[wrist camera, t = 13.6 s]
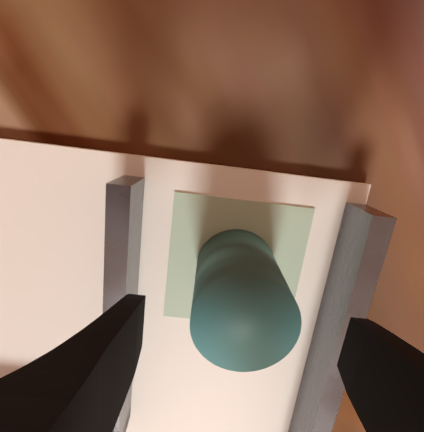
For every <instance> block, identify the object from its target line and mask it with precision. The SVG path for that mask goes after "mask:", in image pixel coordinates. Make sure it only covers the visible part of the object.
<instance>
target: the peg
mask: <svg viewBox="0 0 424 432" xmlns="http://www.w3.org/2000/svg"><path fill="white" fill-rule="evenodd" d="M301 325H302V321H301V313H300V310H299V307H298V304H297V302H296V300H295V298H294V296H293V294H292V292H291V290H290V288H289V286H288V284H287V282H286V280H285V278H284V276H283V274H282V272H281V270H280V268H279V266H278V264H277V262H276V260H275V258H274V256H273V254H272V252H271V250H270V248H269V247H268V245H267V244H266V242H265V241H264V240H263V239H262V238H260V237H259V236H258V235H256V234H254V233H252V232H249V231H246V230H241V229H231V230H226V231H222V232H220V233H218V234H216V235H214V236H212V237H211V238H210V239H209V240H208V241H207V242H206V243H205V244H204V245H203V247H202V248H201V250H200V252H199V255H198V259H197V267H196V275H195V283H194V291H193V299H192V308H191V316H190V334H191V337H192V341H193V343H194V345H195V347H196V348H197V350H198V351H199V352H200V353H201V355H202V356H203V357H204V358H206V359H207V360H208V361H209V362H211V363H213V364H214V365H216V366H218V367H220V368H223V369H226V370H230V371H236V372H252V371H258V370H262V369H265V368H268V367H270V366H272V365H274V364H276V363H278V362H279V361H281V360H282V359H283V358H285V357H286V356H287V355H288V354H289V353H290V351H291V350H292V349H293V348H294V346H295V344H296V343H297V341H298V338H299V336H300V332H301Z"/></svg>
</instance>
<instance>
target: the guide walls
mask: <svg viewBox="0 0 424 432" xmlns="http://www.w3.org/2000/svg"><path fill="white" fill-rule="evenodd" d="M144 183H145V178H144V177H135V176H127V175H123V176H121V177H119V178H117V179H114V180H112V181H110V182H108V183H106V200H105V239H104V278H103V313H104V312H106V311H107V310H108V309H109V308H110V307H112V306H113V305H114V304H115V303H117V302H118V301H119V300H120V299H122V298H123V297H124V296H125V295H127V294H137V295H138V281H139V264H140V248H141V232H142V215H143V199H144ZM396 219H397V218H395V217H393V216H390V215H388V214H386V213H384V212H381V211H379V210H377V209H375V208H372V207H370V206H368V205H365V204H357V203H349V202H346V205H345V209H344V213H343V217H342V221H341V225H340V228H339V232H338V236H337V240H336V244H335V248H334V252H333V256H332V260H331V264H330V268H329V272H328V276H327V280H326V284H325V288H324V292H323V296H322V300H321V304H320V308H319V312H318V316H317V320H316V323H315V327H314V331H313V335H312V339H311V343H310V347H309V351H308V355H307V359H306V363H305V367H304V371H303V375H302V379H301V383H300V387H299V391H298V395H297V399H296V403H295V407H294V411H293V414H292V418H291V422H290V426H289V430H288V432H332V429H333V426H334V422H335V419H336V416H337V413H338V409H339V406H340V403H341V399H342V396H343V393H344V390H345V387H344V384H343V381H342V379H341V376H340V373H339V370H338V367H337V363H338V359H339V356H340V352H341V349H342V345H343V342H344V338H345V335H346V331H347V328H348V324H349V321H350V317H355V318H364V319H366V318H367V314H368V311H369V308H370V304H371V301H372V298H373V295H374V291H375V288H376V285H377V281H378V278H379V275H380V272H381V268H382V265H383V262H384V259H385V255H386V252H387V249H388V245H389V242H390V239H391V236H392V232H393V229H394V226H395V222H396ZM131 395H132V383H131V386H130V388H129V391H128V394H127V396H126V399H125V402H124V404H123V407H122V409H121V412H120V415H119V417H118V420H117V422H116V425H115V428H114V430H113V432H126V429H127V426H128V422H129V419H130V411H131Z"/></svg>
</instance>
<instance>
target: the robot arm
mask: <svg viewBox="0 0 424 432" xmlns="http://www.w3.org/2000/svg"><path fill="white" fill-rule="evenodd" d="M145 298H146V295H137V294H127V295H125V296H124V297H123V298H122V299H120V300H119V301H118V302H117V303H115V304H114V305H113V306H112V307H110V308H109V309H108V310H107V311H106V312H104V313H103V314H102V315H100V316H99V317H98V318H97V319H95V320H94V321H93V322H91V323H90V324H89V325H87V326H86V327H85V328H83V329H82V330H81V331H79V332H78V333H76V334H75V335H73V336H72V337H71V338H69V339H68V340H66V341H65V342H63V343H62V344H60V345H59V346H57V347H56V348H54V349H52V350H51V351H49V352H47V353H46V354H44V355H42V356H41V357H39V358H37V359H35V360H34V361H32V362H30V363H28V364H27V365H25V366H23V367H21V368H19V369H17V370H15V371H13V372H11V373H9V374H7V375H5V376H3V377H1V378H0V432H113V430H114V428H115V425H116V422H117V420H118V417H119V415H120V412H121V409H122V407H123V404H124V402H125V399H126V396H127V394H128V391H129V388H130V386H131V383H132V381H133V378H134V375H135V372H136V368H137V364H138V360H139V356H140V352H141V349H142V341H143V327H144V313H145ZM337 367H338V370H339V373H340V376H341V379H342V381H343V384H344V387H345V389H346V392H347V394H348V397H349V399H350V401H351V403H352V405H353V407H354V409H355V411H356V413H357V415H358V417H359V419H360V421H361V422H362V424H363V426H364V428H365V430H366V432H424V353H422V352H421V351H419V350H418V349H416V348H415V347H413V346H411V345H410V344H408V343H407V342H405V341H404V340H402V339H401V338H399V337H397V336H396V335H394V334H393V333H391V332H390V331H388V330H386V329H385V328H383V327H381V326H380V325H378V324H376V323H375V322H373V321H371V320H369V319H364V318H355V317H350V321H349V324H348V328H347V331H346V335H345V338H344V342H343V345H342V349H341V352H340V356H339V359H338V363H337Z"/></svg>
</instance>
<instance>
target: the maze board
mask: <svg viewBox="0 0 424 432" xmlns="http://www.w3.org/2000/svg"><path fill="white" fill-rule="evenodd" d="M123 175H127V176H135V177H144V178H145V183H144V199H143V215H142V232H141V248H140V264H139V281H138V295H146V298H145V313H144V327H143V341H142V349H141V352H140V356H139V360H138V364H137V368H136V372H135V375H134V378H133V381H132V395H131V411H130V419H129V422H128V426H127V429H126V432H288V430H289V426H290V422H291V418H292V414H293V411H294V407H295V403H296V399H297V395H298V391H299V387H300V383H301V379H302V375H303V371H304V367H305V363H306V359H307V355H308V351H309V347H310V343H311V339H312V335H313V331H314V327H315V323H316V320H317V316H318V312H319V308H320V304H321V300H322V296H323V292H324V288H325V284H326V280H327V276H328V272H329V268H330V264H331V260H332V256H333V252H334V248H335V244H336V240H337V236H338V232H339V228H340V225H341V221H342V217H343V213H344V209H345V205H346V202H349V203H357V204H365V205H366V202H367V198H368V195H369V191H370V187H371V185H370V184H367V183H360V182H352V181H344V180H336V179H328V178H320V177H312V176H304V175H296V174H288V173H280V172H272V171H264V170H256V169H248V168H240V167H232V166H224V165H216V164H208V163H200V162H192V161H184V160H175V159H167V158H159V157H151V156H143V155H135V154H127V153H119V152H111V151H103V150H95V149H87V148H79V147H71V146H63V145H55V144H47V143H39V142H31V141H23V140H15V139H7V138H0V378H1V377H3V376H5V375H7V374H9V373H11V372H13V371H15V370H17V369H19V368H21V367H23V366H25V365H27V364H28V363H30V362H32V361H34V360H35V359H37V358H39V357H41V356H42V355H44V354H46V353H47V352H49V351H51V350H52V349H54V348H56V347H57V346H59V345H60V344H62V343H63V342H65V341H66V340H68V339H69V338H71V337H72V336H73V335H75V334H76V333H78V332H79V331H81V330H82V329H83V328H85V327H86V326H87V325H89V324H90V323H91V322H93V321H94V320H95V319H97V318H98V317H99V316H100V315H102V314H103V278H104V239H105V200H106V183H108V182H110V181H112V180H114V179H117V178H119V177H121V176H123ZM231 229H241V230H246V231H249V232H252V233H254V234H256V235H258V236H259V237H260V238H262V239H263V240H264V241H265V242H266V244H267V245H268V247H269V248H270V250H271V252H272V254H273V256H274V258H275V260H276V262H277V264H278V266H279V268H280V270H281V272H282V274H283V276H284V278H285V280H286V282H287V284H288V286H289V288H290V290H291V292H292V294H293V296H294V298H295V300H296V302H297V304H298V307H299V310H300V313H301V321H302V325H301V332H300V336H299V338H298V341H297V343H296V344H295V346H294V348H293V349H292V350H291V351H290V353H289V354H288V355H287V356H286V357H285V358H283V359H282V360H281V361H279V362H278V363H276V364H274V365H272V366H270V367H268V368H265V369H262V370H258V371H252V372H236V371H230V370H226V369H223V368H220V367H218V366H216V365H214V364H213V363H211V362H209V361H208V360H207V359H206V358H204V357H203V356H202V355H201V353H200V352H199V351H198V350H197V348H196V347H195V345H194V343H193V341H192V337H191V334H190V316H191V308H192V299H193V291H194V283H195V275H196V267H197V259H198V255H199V252H200V250H201V248H202V247H203V245H204V244H205V243H206V242H207V241H208V240H209V239H210V238H211V237H212V236H214V235H216V234H218V233H220V232H222V231H226V230H231Z"/></svg>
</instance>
